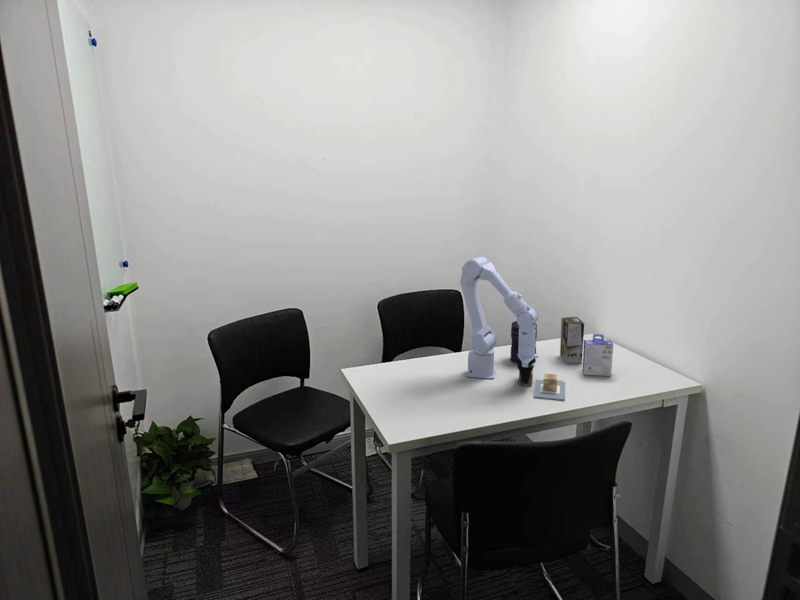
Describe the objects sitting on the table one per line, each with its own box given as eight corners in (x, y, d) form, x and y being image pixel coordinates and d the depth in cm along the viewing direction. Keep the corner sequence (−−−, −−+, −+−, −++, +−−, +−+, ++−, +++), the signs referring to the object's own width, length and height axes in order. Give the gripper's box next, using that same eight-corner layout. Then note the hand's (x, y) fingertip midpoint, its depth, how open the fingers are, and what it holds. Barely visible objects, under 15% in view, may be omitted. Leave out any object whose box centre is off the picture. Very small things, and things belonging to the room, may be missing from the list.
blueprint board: (533, 397, 179) (533, 396, 179) (536, 381, 192) (536, 379, 192) (565, 400, 176) (565, 398, 176) (565, 383, 189) (565, 381, 189)
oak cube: (543, 390, 183) (543, 378, 181) (543, 385, 187) (544, 373, 186) (556, 392, 181) (557, 379, 180) (557, 386, 186) (557, 374, 184)
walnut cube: (518, 384, 190) (519, 373, 189) (519, 379, 194) (520, 368, 193) (531, 385, 189) (532, 374, 187) (532, 380, 193) (532, 369, 192)
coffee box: (582, 363, 206) (585, 323, 202) (565, 363, 206) (567, 324, 202) (575, 354, 215) (577, 316, 211) (559, 355, 215) (561, 316, 211)
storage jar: (540, 363, 208) (541, 326, 204) (517, 366, 206) (517, 329, 202) (528, 354, 217) (529, 319, 213) (506, 357, 215) (506, 321, 211)
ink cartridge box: (609, 370, 199) (612, 333, 195) (612, 376, 194) (614, 338, 190) (581, 369, 201) (583, 332, 197) (583, 375, 196) (585, 337, 192)
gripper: (537, 350, 179) (536, 387, 183) (539, 336, 193) (538, 371, 196) (516, 349, 181) (515, 386, 185) (519, 335, 195) (518, 369, 198)
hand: (525, 378), depth 191 cm, fingers open, 7 cm apart
